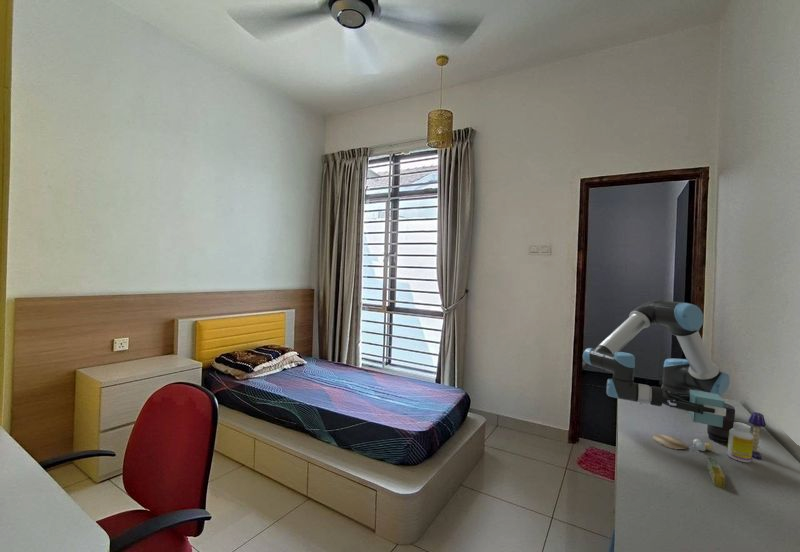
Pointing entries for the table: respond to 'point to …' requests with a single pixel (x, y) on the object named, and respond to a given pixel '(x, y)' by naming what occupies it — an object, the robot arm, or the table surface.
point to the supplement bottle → (740, 442)
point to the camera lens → (723, 432)
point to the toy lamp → (756, 432)
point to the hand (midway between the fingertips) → (721, 408)
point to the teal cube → (706, 399)
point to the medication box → (716, 473)
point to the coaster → (670, 441)
